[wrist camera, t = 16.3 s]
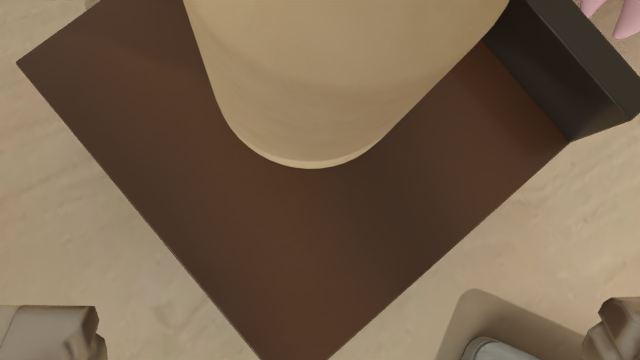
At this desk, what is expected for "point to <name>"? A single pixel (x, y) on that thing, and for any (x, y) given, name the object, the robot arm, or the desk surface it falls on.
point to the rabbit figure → (633, 17)
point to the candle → (329, 67)
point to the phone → (494, 351)
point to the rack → (331, 182)
